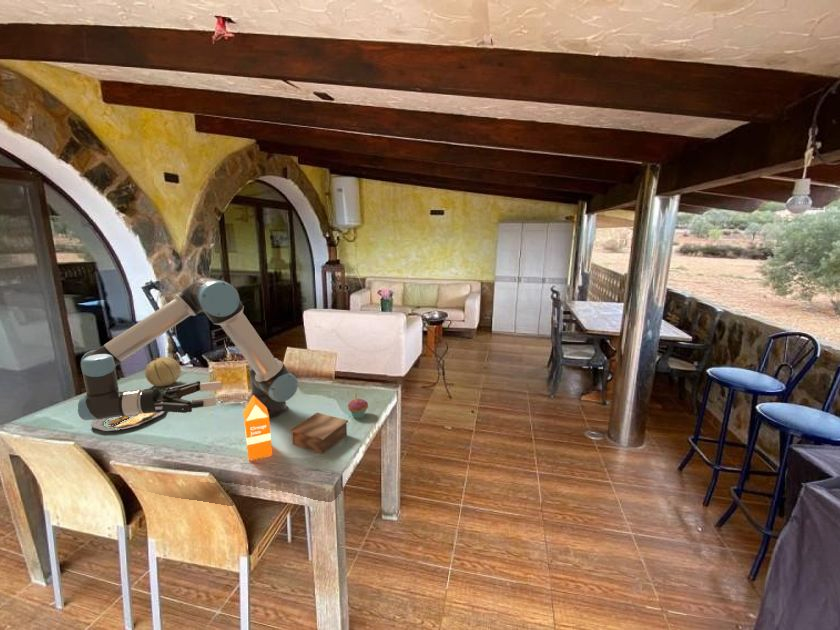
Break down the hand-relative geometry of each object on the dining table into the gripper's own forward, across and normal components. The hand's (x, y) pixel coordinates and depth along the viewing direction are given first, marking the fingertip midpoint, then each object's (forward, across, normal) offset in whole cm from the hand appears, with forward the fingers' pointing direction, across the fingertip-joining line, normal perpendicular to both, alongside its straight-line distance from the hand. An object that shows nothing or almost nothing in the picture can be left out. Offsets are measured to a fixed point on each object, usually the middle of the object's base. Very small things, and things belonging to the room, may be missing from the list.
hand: (218, 392), depth 127 cm
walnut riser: (+32, -1, -24) cm, 40 cm away
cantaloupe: (-36, -80, -24) cm, 91 cm away
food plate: (-40, -44, -24) cm, 64 cm away
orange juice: (+11, 0, -24) cm, 26 cm away
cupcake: (+49, -16, -24) cm, 57 cm away
